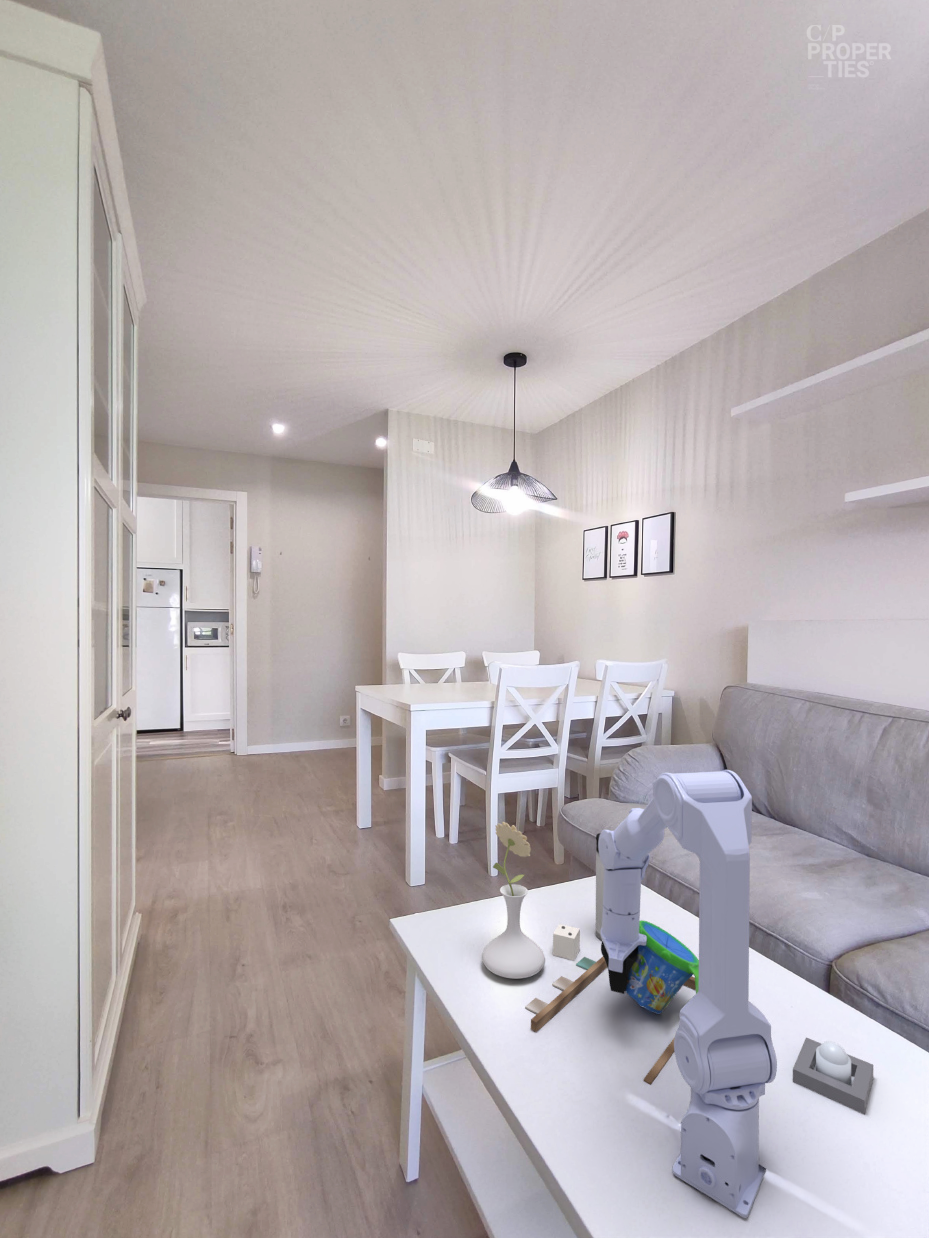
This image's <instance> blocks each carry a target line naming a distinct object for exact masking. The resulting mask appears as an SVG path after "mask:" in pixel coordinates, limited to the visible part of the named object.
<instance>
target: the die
mask: <svg viewBox="0 0 929 1238" xmlns="http://www.w3.org/2000/svg"><path fill="white" fill-rule="evenodd" d="M552 935H553V936H552V937H553V938H552V956H555V957H559V958H561V959H567V960H570V961H575V959H576V958H577V956H578V954H579V952H580V949H581V947H580V946H581V929H580V928H579V927H574V926H570V925H566V924H561V923H559V924H558V926H556V928H555V930H554V932H553V934H552Z"/></svg>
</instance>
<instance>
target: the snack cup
mask: <svg viewBox="0 0 929 1238" xmlns="http://www.w3.org/2000/svg"><path fill="white" fill-rule="evenodd" d="M639 933H640V934H643V935H646V937H647V941H646V945H638V957H637V959H636V961H635V963H634V964H633V966H632V968H631V970H630V973H629V977H628V982H627V987H626V991H625V994H627V995H628V996H629V997H630V998H632V999H633V1000H634V1001H635V1002H636V1003H637V1004H638V1005H639V1006H640V1007H642V1008H645V1009H646V1010H648V1011H649V1012H650V1013H655V1014H656V1015H659V1014H662V1012H664V1011H665V1010H666V1009H667V1007H668V1006H669V1005H670V1003H671V1002H672V1001H673V999H674V998H675V997H676V995H677V994H678V993H679V991H680V990H681V989H682V988H683V986H684V983H685V982H686V981H687V980H688V979H689V978H690V977H691V976H692V977H695V988H696V990H695V995H696V994H697V992H698V991H699V957H697V956H696V955H695V953H694V952H693V951H692V950H691V949H689V947H688V946H686V944H684V942H682V941H680V940H679V939H678V938H677V937H675V936H674V935H672V934H671V933H669V932H668V931H666V930H665V929H663V928H662V927H660V926H658V925H656V924H654V923H652V922H650V921H646V920H644V919H643V920H642V919H640V921H639Z"/></svg>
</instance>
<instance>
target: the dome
mask: <svg viewBox="0 0 929 1238" xmlns="http://www.w3.org/2000/svg"><path fill="white" fill-rule="evenodd" d="M847 1054H848V1053H847V1052H846V1050H845V1049H844V1048H843V1047H842V1046H841V1045H840V1044H839V1043H837V1042H835V1041H832V1040H826V1041H824V1042H822V1043H821V1045H820V1046H818V1047H817V1048H816V1064H815V1071H817V1072H819V1073H822V1074H824V1075H826V1076H829V1077H831V1078H833V1079H836V1080H838V1081H840V1082H842V1083H845V1084H847V1085H849V1086H852V1076H851V1059H850V1058H849V1056H848V1055H849V1054H848V1055H847Z"/></svg>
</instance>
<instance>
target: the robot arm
mask: <svg viewBox="0 0 929 1238" xmlns="http://www.w3.org/2000/svg"><path fill="white" fill-rule="evenodd" d="M752 811H753V796H752V794H751V792H750V791H749V790H748V788H747V787H746V785H745V784H744V782H743V780H742V779H741V777H740V776H739V774H737V773H736V772H734V771H733V770H730V769H722V770H719V771H699V772H698V771H697V772H680V773H679V772H678V773H677V772H676V773H675V772H674V773H671V772H662V773H660V774H659V775H658V776H657V778H656V780H654V781H653V782H652V798H651V799H650V801H649V802H648V804H647V805H646V806H645V808H641V807H635V808H633V807H632V808H631V809H630V810H628V815H627V816H626V817H625V818H624V819H623V821H621V822H620V823H619V825H618V826H617V827H616V828H615V829H614V830H610V829H602V830H601V832H600V833H601V834H600V836H599V841H598V849H599V855H600V859H601V862H602V864H603V866H604V885H603V914H602V928H601V933H600V935H601V938H602V940H601V945H600V952H601V955H602V957H604V959H605V961H606V964H607V972H608V982H609V987H610V991H611V992H615V993H618V994H623V995H625V994H626V987H627V982H628V977H629V973H630V970H631V968H632V966H633V964H634V963H635V961H636V959H637V957H638V945H646V941H647V937H646V935H643V934H640V933H639V921H641V919H640V916H641V892H642V881H644V880H645V878H646V869H647V868H648V866H649V864H650V858H651V857H650V856H651V855H650V854H651V853H652V852H653V851H654V850H655V849H656V848H657V847H658V846H659V845H660V844H661V843H662V842H663V840H664V839H665V834H666V833H665V829H667V828H668V829H669V831H670V832H671V834H672V835H673V837H674V838H675V840H677V843H679V845H680V846H681V848H682V849H683V850H686V851H688V852H691V853H693V854H695V855H696V856H697V858H698V860H699V890H698V891H699V892H698V893H699V898H698V899H699V901H698V903H699V905H698V909H699V912H698V913H699V914H698V915H699V916H698V922H699V923H698V926H699V927H698V960H699V991H698V992H697V994H696V993H695V995H694V996H692V998H691V999H690V1000H688V1001H687V1002H686V1003H685V1004H684V1006H683V1007H682V1008H680V1010H679V1021H678V1022H679V1023H678V1027H677V1029H676V1031H675V1036H674V1037H675V1039H674V1038H673V1039H674V1051H675V1052H674V1055H675V1060H676V1064H677V1067H678V1070H679V1072H680V1074H681V1076H682V1078H683V1079H684V1081H685V1083H686V1085H688V1087H689V1088H690V1101H689V1104H688V1107H687V1109H686V1112H685V1114H684V1115H683V1118H682V1120H681V1123H680V1124H681V1126H680V1152H679V1155H678V1156H677V1159H676V1161H675V1162H674V1164H673V1166H672V1169H671V1170H672V1171H671V1172H672V1174H673V1175H674V1176H675V1177H677V1178H678V1179H680V1180H682V1181H684V1182H685V1183H687V1184H688V1185H689V1186H691V1187H693V1188H695V1189H697V1190H698V1191H699V1192H701V1193H703V1195H706V1196H708V1197H709V1198H711V1199H712V1200H714V1201H715V1202H717V1203H718V1204H721V1205H723V1206H724V1207H725V1208H727V1209H729V1210H730V1211H731V1212H733V1213H735V1214H737V1215H739V1216H740V1217H742V1218H743V1219H745V1218H748V1217H749V1215H750V1212H751V1210H752V1206H753V1205H754V1201H755V1199H756V1197H757V1194H758V1192H759V1189H760V1187H761V1184H762V1182H763V1180H764V1177H765V1175H766V1171H767V1167H765V1166H763V1165H762V1164H759V1161H760V1159H759V1157H760V1154H759V1153H760V1151H759V1149H760V1145H759V1144H760V1143H759V1142H760V1137H759V1136H760V1097H762V1096H765V1095H766V1084H771V1083H773V1082H774V1080H775V1079H776V1076H777V1069H778V1061H777V1059H778V1058H777V1054H776V1051H775V1046H774V1045H773V1040H772V1025H771V1023H770V1022H769V1020H768V1019H767V1018H766V1016H765V1014H764V1013H763V1012H762V1011H761V1010H760V1009H759V1007H757V1006H756V1005H754V1004H753V1003H752V1002H751V1001H749V1000H750V999H749V990H750V988H749V987H750V983H749V982H750V980H749V979H750V976H749V975H750V970H749V969H750V889H751V888H750V883H751V881H750V880H751V879H750V874H751V873H750V871H751V868H750V867H751V865H750V864H751V861H750V860H751V858H750V855H751V854H750V847H749V846H750V845H751V844H752V841H753V840H752V834H753V833H752V831H753V830H752V828H753V827H752V821H753V817H752V816H753V814H752V813H753V812H752Z"/></svg>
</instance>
